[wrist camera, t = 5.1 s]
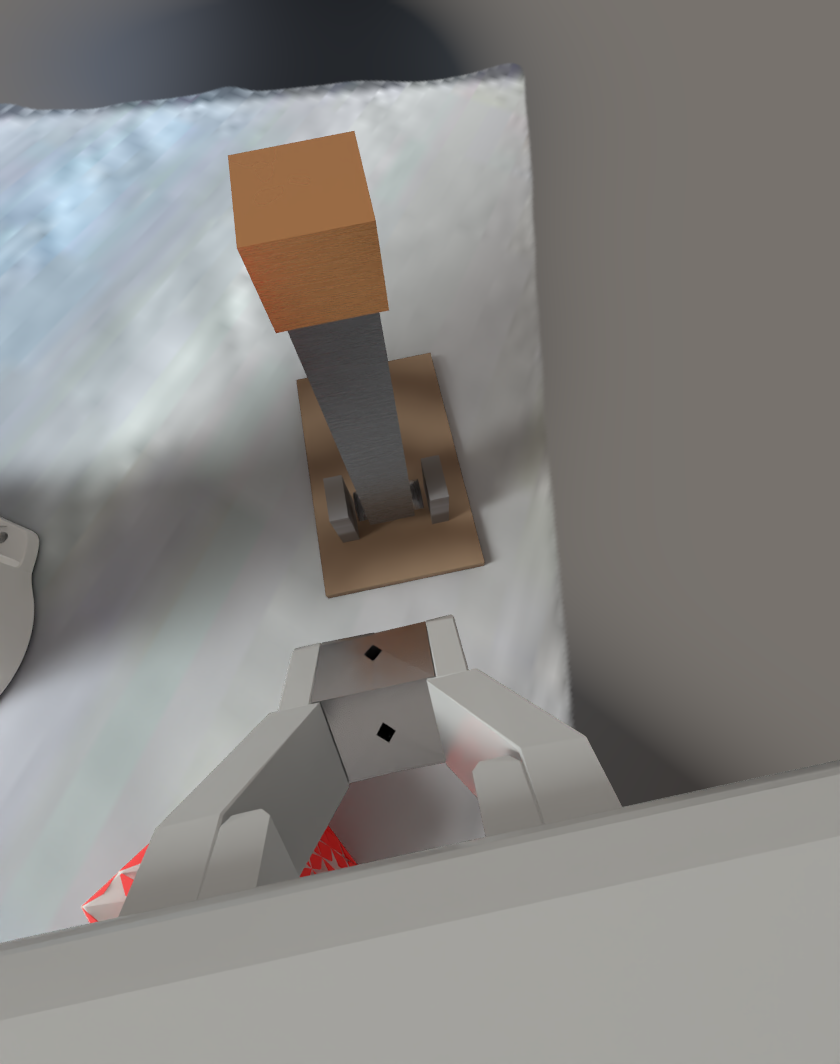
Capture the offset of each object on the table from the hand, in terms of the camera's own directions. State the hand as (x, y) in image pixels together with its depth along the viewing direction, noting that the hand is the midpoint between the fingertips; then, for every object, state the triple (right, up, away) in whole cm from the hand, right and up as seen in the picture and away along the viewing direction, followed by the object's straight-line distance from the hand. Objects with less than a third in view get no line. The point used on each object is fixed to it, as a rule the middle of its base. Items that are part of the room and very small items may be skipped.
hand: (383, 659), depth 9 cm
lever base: (-2, +7, +28) cm, 29 cm away
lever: (-1, +5, +24) cm, 24 cm away
